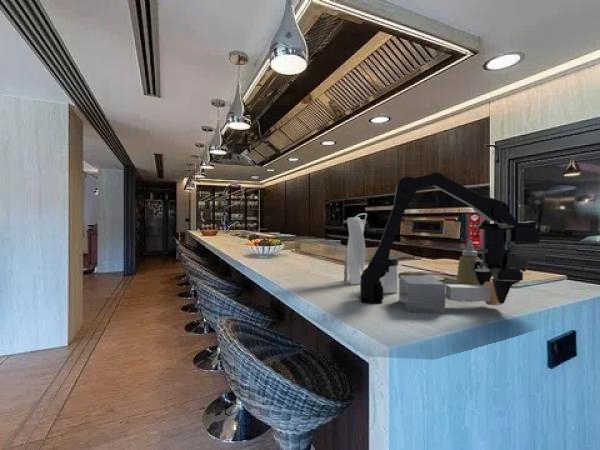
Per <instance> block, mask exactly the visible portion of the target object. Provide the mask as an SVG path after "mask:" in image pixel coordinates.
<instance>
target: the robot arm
mask: <svg viewBox="0 0 600 450" xmlns="http://www.w3.org/2000/svg"><path fill="white" fill-rule="evenodd" d="M430 188H436V189H438V190H439V191H442V192H444V193H445V194H447V195H449V196H451V197H453V198H454V199H456V200H458V201H460V202H461V203H464V204H466V205H467V206H469V207H470V208H472V209H473V211H474V212H475V213H477V214H478V215H479V216H480V217H481V218H482V219H484V220H481V221H480V223H479V224H477V225H475V227H474V228H475V230H476V229H477V230H482V235H483V236H482V247H479V252H482V259H480V260H472V261H471V262H470V269H473V270H472V272H473V274H474V275H475V277H476V279H477V281H478V283H479V285H483V284H484V283H485V282H492V283H493V286H494V289H495V292H496V295H497V299H498V301H499V303H500V304H502V305H504V304H505V301H506V299H507V296H508V294H509V292H510V290H511V288H512V287H513V286H514V285H515V284H519V283H520V281H524V273H526V271H527V269H528V267H529V264H530V261H528V260H525V259H523V258H520V257H517V254H515V253H512V252H511V250H510V249H509V248H508V249H507V243H510V245H511V246H520V247H523V246H524V247H525V246H527V247H537V246H538V245H539V244H540V241H541V233H540V229H539V227H538V226H537V221H525V222H524V221H523V222H521V221H518V220H517V219H516V218H515V217H514V216H513V214H512V213H511V212H510V211H511V210H510V206H509V204H508V203H506V202H504V201H502V200H499V199H496V198H493V197H491V196H485V195H482V194H479V193H477V192H475V191H474V190H471V189H470V188H468V187H466V186H464V185H463V184H460V183H459V182H456V181H455V180H453V179H451V178H449V177H447V176H445V175H444V174H442V173H441V172H439V171H438V172H437V171H435V172H433V173H431V174H425V175H422V176H421V175H420V176H417V177H414V178H413V177H411V176H404V177H403V178H400V180H399V181H398V182H397V184H396V190H395V194H394V202H393V207H392V209H391V212H390V215H389V217H388V220H387V223H386V225H385V228H384V230H383V231H384V232H383V234H382V236H381V238H380V242H379V244H378V247H377V248H376V250H375V251H374V253H373V256H372V257H371V259H370V260H369V262H368V265H367V267H366V268H364V271H363V272H362V274H361V277H360V278H361V280H360V286H359V288H360V289H359V292H360V293H359V294H360V295H359V300H360V303H364V304H365V303H366V304H368V303H370V304H373V303H374V304H382V303H383V300H384V293H383V286H382V285H381V281H380V278H382V277H384V276H385V274H386V272H388V273H389V267H390V265H391V263H392V262H393V258H392V257H389V256H390V253H391V252H390V251H391V250H392V246H393V244H394V241H395V238H396V236H397V233H398V230H399V227H400V224H401V223H402V219H403V216H404V214H405V212H406V211H405V210H406V209H407V207H408V205H409V204H410V203H411V200H412V199H413V198H414V196H415V194H416V192H420V191H423V190H426V189H430ZM485 220H486V221H488V222H495V223H487V222H486V221H485ZM500 225H501V227H500ZM504 225H505V227H504Z"/></svg>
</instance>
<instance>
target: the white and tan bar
mask: <svg viewBox="0 0 600 450" xmlns="http://www.w3.org/2000/svg"><path fill="white" fill-rule="evenodd" d="M445 299H448V300H449V301H462V302H463V301H464V302H465V301H468V302H485V304H487V306H502V305H503V304H500V303H499V301H498V299H497V295H496V292H495V289H494V286H493V283H492V281H490V282H485V283H484V284H483V285H458V283H457V284H450V283H449V284H448V283H447V284H446V283H445Z"/></svg>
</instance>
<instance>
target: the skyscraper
mask: <svg viewBox="0 0 600 450" xmlns="http://www.w3.org/2000/svg"><path fill="white" fill-rule="evenodd" d="M363 215H365V218H364V219H361V217H359V216H363ZM367 217H368V214H367V213H364V212H363V213H359V214H357V215H356V216H353V217H348V218H347V219H346V220H347V221H346V222H347V228H348V235H349V236H348V240H347V248H346V249H347V250H346V251H345V258H344V259H345V261H344V272H343V276H344V277H343V282H344V283H345V285H346V286H347V285H348V286H350V285H355V286H356V285H360V280H361V278H360V277H361V274H362V272H363V271H364V270H365V265H366V256H367V255H366V250H367V249H366V242H365V241H366V240H365V235H364V231H365V227H366V222H367V221H366V219H367Z"/></svg>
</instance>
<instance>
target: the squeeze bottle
mask: <svg viewBox="0 0 600 450" xmlns="http://www.w3.org/2000/svg"><path fill="white" fill-rule="evenodd" d="M461 254H462V255H461V256H460V257H459V259H458V267H457V276H456V283H457V285H479V283H478V281H477V279H476V277H475V275H474V274H473V272H472V270H473V269H470V262H471V261H472V260H481V258H480V257H478V250H477V251H476V250H475V248H474V243H473V240H467V243H466V248H465V250H464V249H463V250H462V253H461Z"/></svg>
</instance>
